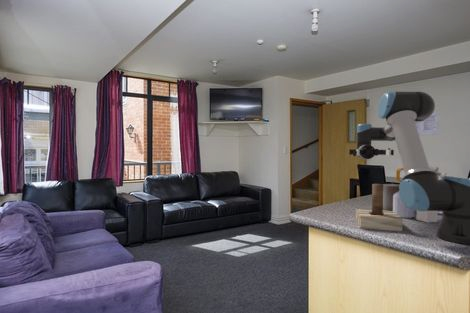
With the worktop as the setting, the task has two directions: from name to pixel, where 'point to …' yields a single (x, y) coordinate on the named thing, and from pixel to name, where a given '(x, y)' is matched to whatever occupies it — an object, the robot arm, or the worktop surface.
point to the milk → (427, 216)
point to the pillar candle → (389, 195)
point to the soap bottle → (397, 203)
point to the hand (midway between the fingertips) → (374, 152)
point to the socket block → (379, 220)
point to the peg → (377, 199)
